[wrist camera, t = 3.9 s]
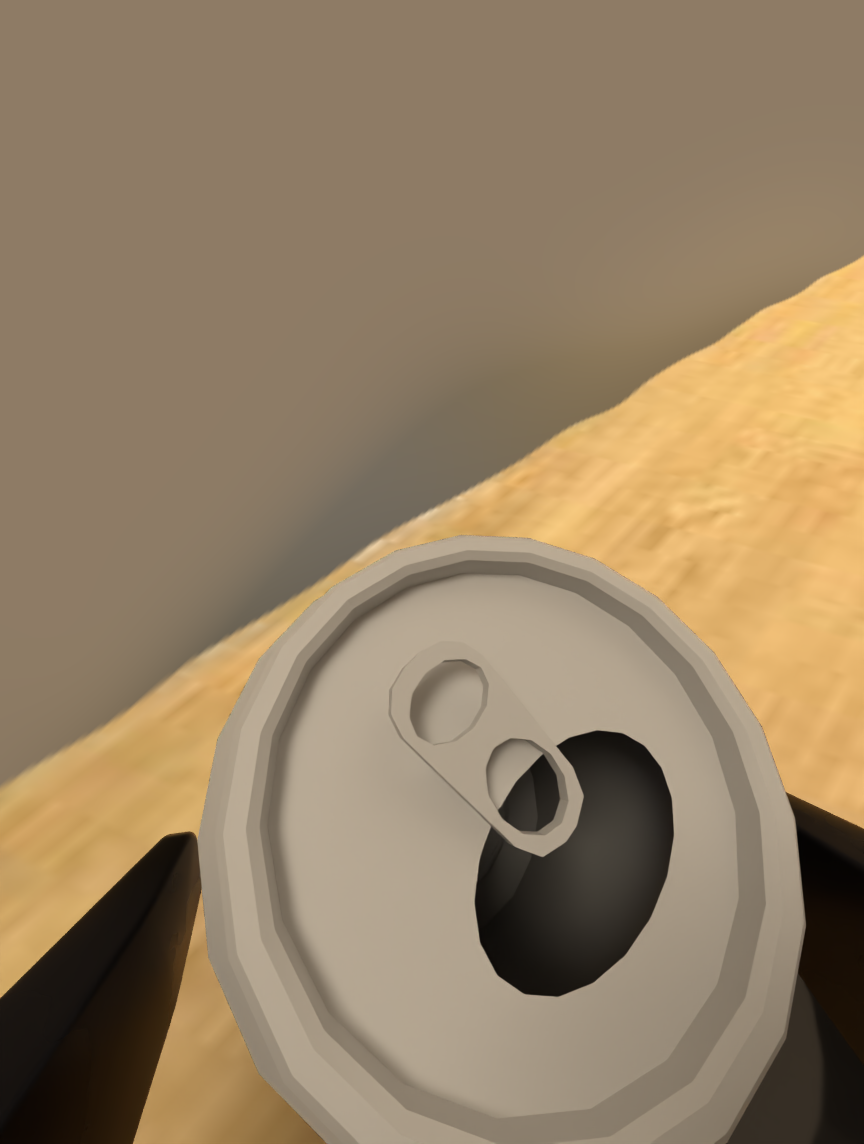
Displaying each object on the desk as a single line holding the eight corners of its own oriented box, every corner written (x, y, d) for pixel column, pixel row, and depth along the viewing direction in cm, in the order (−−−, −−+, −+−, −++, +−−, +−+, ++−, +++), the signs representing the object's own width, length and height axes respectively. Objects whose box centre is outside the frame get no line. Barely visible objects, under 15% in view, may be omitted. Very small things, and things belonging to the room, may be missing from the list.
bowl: (987, 1535, 10) (1505, 2147, 5) (519, 1196, 11) (611, 1445, 7) (947, 942, 15) (1186, 997, 10) (632, 768, 16) (726, 752, 12)
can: (423, 1010, 13) (672, 2030, 2) (260, 803, 14) (-41, 781, 4) (571, 796, 16) (970, 766, 5) (420, 649, 18) (486, 411, 7)
